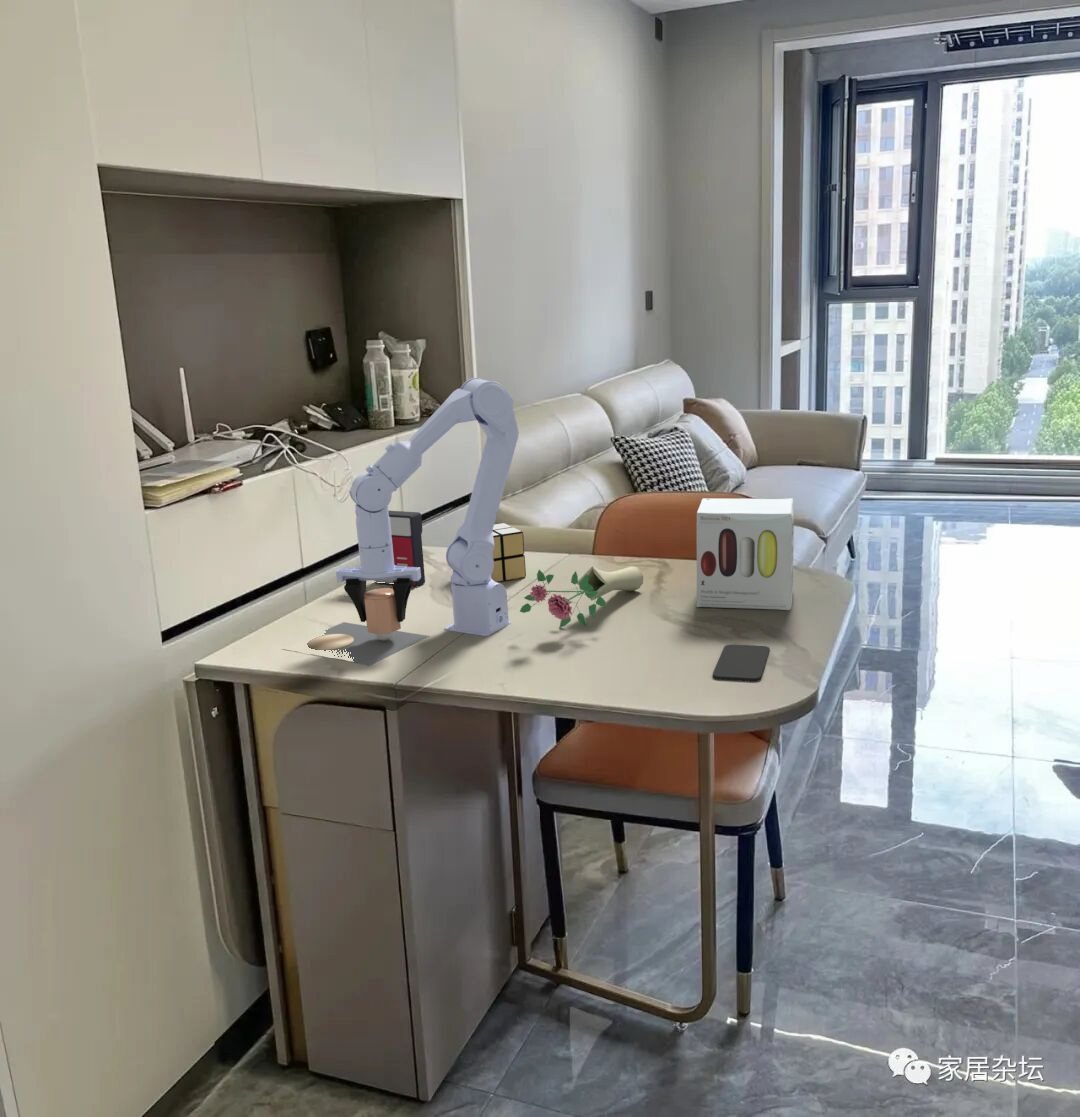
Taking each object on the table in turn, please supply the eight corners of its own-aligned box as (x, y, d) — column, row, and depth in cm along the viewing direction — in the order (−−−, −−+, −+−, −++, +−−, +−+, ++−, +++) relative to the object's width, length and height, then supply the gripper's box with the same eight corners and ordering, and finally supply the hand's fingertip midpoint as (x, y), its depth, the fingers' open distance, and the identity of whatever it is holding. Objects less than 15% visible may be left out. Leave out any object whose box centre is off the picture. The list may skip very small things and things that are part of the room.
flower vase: (644, 631, 209) (567, 650, 178) (590, 607, 214) (506, 621, 183) (665, 575, 207) (590, 584, 176) (610, 551, 212) (528, 556, 181)
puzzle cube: (464, 575, 228) (461, 529, 226) (507, 567, 232) (504, 522, 230) (482, 585, 219) (478, 538, 217) (526, 577, 223) (523, 531, 221)
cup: (406, 625, 188) (403, 590, 186) (385, 635, 183) (382, 599, 182) (382, 621, 191) (378, 586, 189) (360, 631, 186) (356, 595, 184)
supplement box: (695, 609, 196) (693, 512, 192) (702, 588, 209) (701, 497, 204) (792, 611, 192) (793, 512, 188) (793, 589, 205) (794, 496, 200)
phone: (770, 646, 174) (760, 678, 160) (770, 650, 174) (760, 684, 160) (724, 644, 176) (710, 676, 162) (724, 648, 176) (711, 681, 163)
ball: (397, 638, 188) (395, 621, 187) (385, 644, 185) (384, 626, 184) (383, 636, 190) (381, 619, 189) (371, 641, 187) (369, 624, 186)
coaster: (363, 639, 189) (363, 637, 189) (332, 653, 182) (331, 651, 182) (329, 633, 193) (329, 631, 193) (297, 647, 186) (297, 645, 186)
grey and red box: (372, 583, 225) (365, 514, 221) (384, 578, 229) (377, 509, 225) (415, 588, 220) (409, 516, 216) (427, 582, 224) (421, 512, 220)
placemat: (429, 638, 188) (429, 635, 188) (369, 667, 175) (369, 665, 175) (344, 624, 199) (343, 622, 199) (281, 651, 186) (281, 649, 186)
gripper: (422, 537, 186) (429, 612, 189) (342, 539, 188) (351, 613, 192) (411, 548, 179) (418, 625, 182) (328, 549, 181) (337, 625, 185)
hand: (383, 620), depth 187 cm, fingers closed on cup, 6 cm apart
